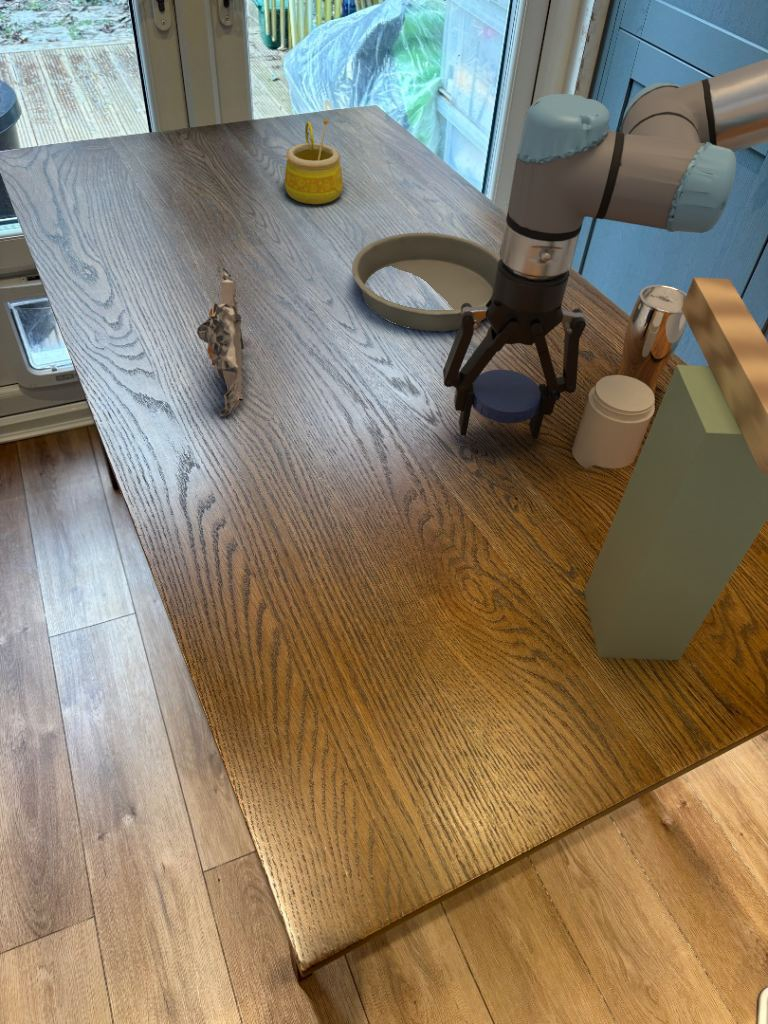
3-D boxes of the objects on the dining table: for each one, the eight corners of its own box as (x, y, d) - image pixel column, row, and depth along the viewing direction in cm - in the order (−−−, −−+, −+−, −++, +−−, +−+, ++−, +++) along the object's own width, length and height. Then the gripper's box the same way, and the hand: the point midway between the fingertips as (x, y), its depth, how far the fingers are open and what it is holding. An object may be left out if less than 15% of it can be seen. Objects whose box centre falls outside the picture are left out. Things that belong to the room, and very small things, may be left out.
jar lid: (474, 375, 94) (476, 364, 93) (540, 387, 93) (543, 375, 92) (465, 416, 89) (467, 405, 87) (536, 429, 88) (539, 417, 87)
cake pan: (390, 243, 130) (392, 218, 127) (525, 280, 124) (530, 255, 121) (323, 310, 115) (323, 283, 112) (473, 356, 109) (478, 329, 105)
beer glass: (636, 374, 108) (670, 279, 97) (666, 403, 103) (706, 307, 92) (596, 384, 105) (626, 288, 95) (626, 414, 101) (661, 317, 90)
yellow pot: (329, 213, 137) (329, 145, 128) (275, 201, 139) (271, 133, 131) (355, 186, 146) (357, 121, 137) (304, 175, 148) (303, 110, 139)
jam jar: (646, 464, 95) (672, 402, 87) (599, 483, 92) (622, 421, 84) (605, 428, 99) (627, 366, 92) (559, 445, 96) (578, 382, 89)
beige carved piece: (214, 351, 106) (202, 266, 96) (244, 351, 106) (236, 266, 97) (209, 420, 96) (196, 332, 86) (243, 419, 96) (234, 331, 87)
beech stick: (680, 309, 63) (693, 276, 61) (715, 311, 63) (729, 278, 61) (761, 473, 49) (781, 439, 47) (806, 475, 49) (828, 441, 47)
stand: (580, 598, 79) (676, 364, 57) (655, 601, 80) (778, 369, 58) (594, 664, 74) (706, 432, 52) (674, 667, 74) (819, 437, 52)
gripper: (435, 276, 75) (415, 446, 91) (642, 288, 76) (585, 454, 92) (432, 240, 80) (414, 407, 97) (626, 251, 81) (575, 415, 97)
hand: (498, 430), depth 94 cm, fingers closed on jar lid, 8 cm apart
